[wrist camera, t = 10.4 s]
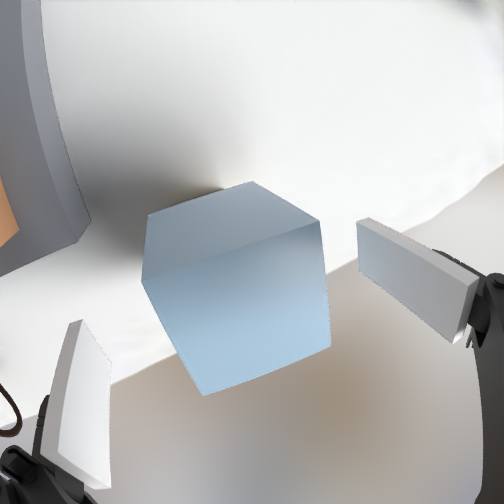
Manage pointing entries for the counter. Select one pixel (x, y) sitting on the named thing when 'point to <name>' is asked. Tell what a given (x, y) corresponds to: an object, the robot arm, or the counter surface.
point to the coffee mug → (18, 425)
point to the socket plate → (33, 145)
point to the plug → (237, 284)
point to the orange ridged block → (6, 218)
